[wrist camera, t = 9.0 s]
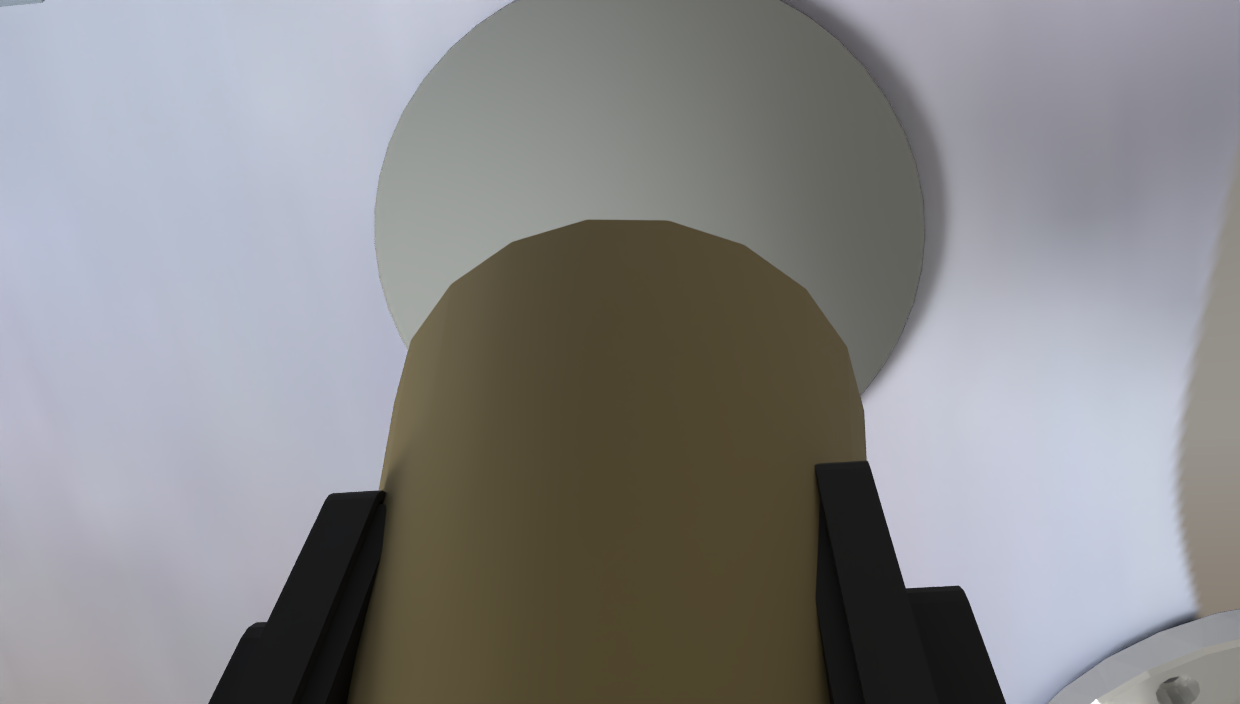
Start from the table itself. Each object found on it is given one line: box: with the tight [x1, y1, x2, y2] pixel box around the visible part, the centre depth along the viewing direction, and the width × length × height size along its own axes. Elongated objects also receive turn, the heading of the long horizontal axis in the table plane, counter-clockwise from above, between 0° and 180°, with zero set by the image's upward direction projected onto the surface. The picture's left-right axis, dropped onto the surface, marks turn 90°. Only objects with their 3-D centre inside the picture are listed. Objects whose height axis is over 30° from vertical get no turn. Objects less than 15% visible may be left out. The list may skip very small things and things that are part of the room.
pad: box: [375, 0, 925, 395], centre depth 21 cm, size 10×10×1 cm
